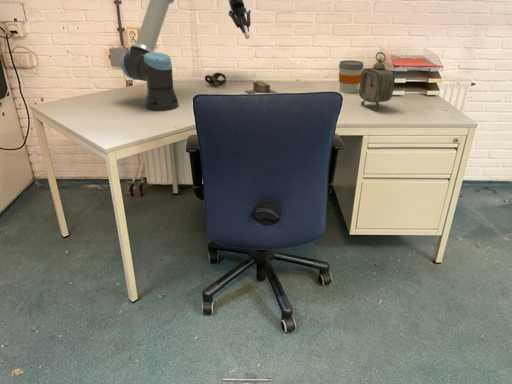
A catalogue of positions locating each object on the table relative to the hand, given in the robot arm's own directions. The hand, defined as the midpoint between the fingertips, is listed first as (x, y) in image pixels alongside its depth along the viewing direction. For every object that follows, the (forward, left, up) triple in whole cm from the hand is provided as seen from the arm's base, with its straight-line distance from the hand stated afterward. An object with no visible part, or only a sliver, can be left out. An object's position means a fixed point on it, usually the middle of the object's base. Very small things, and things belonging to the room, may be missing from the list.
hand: (247, 37), depth 216 cm
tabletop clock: (+37, -65, -26) cm, 79 cm away
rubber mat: (0, -18, -26) cm, 31 cm away
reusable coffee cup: (+45, -34, -26) cm, 62 cm away
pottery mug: (-17, +5, -26) cm, 32 cm away
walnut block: (0, -13, -23) cm, 26 cm away
